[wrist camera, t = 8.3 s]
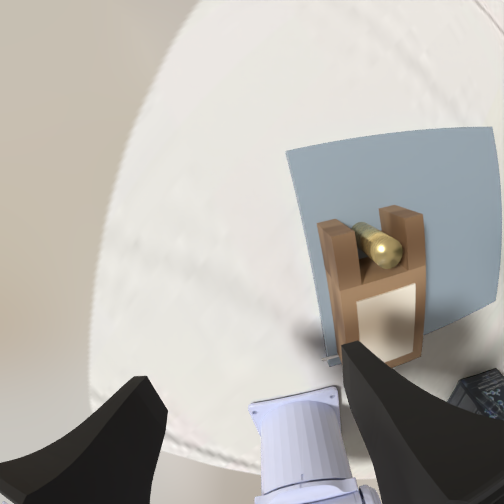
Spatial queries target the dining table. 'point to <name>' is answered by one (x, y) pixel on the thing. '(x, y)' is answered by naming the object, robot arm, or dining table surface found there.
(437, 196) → the board
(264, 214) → the dining table surface
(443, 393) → the dining table surface
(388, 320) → the wooden holder
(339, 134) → the dining table surface
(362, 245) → the peg
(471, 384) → the box
